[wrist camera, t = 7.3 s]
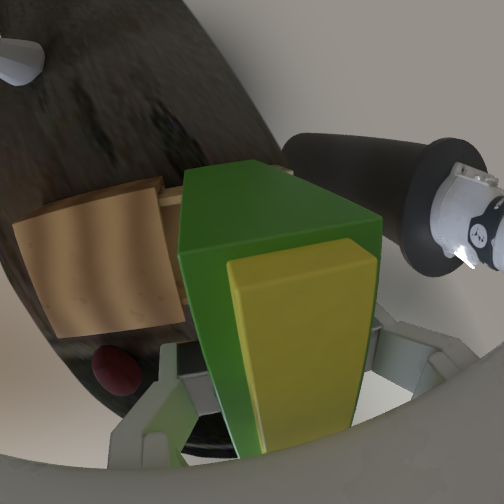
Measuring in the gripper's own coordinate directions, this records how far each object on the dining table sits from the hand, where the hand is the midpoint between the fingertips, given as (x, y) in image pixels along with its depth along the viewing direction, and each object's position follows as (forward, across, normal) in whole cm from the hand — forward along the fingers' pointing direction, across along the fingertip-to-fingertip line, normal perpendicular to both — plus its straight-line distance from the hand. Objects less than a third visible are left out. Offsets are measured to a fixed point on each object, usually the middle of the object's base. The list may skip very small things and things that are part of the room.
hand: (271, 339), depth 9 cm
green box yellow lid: (+10, 0, 0) cm, 10 cm away
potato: (+28, +19, +23) cm, 41 cm away
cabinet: (+28, +14, +5) cm, 31 cm away
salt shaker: (+28, +20, -21) cm, 40 cm away
